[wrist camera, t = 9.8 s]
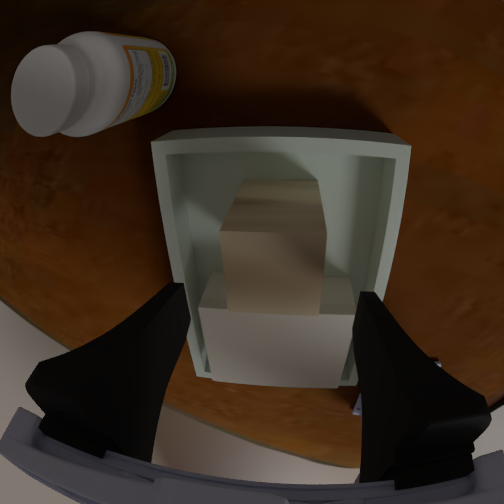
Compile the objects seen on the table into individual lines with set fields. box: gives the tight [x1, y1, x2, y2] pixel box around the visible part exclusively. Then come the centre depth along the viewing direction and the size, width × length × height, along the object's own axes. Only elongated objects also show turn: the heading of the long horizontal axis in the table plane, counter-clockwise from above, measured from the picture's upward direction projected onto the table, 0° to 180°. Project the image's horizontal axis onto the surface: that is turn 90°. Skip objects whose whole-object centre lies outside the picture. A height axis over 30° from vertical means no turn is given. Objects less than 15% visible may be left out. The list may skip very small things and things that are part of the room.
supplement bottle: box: [11, 31, 176, 137], centre depth 13 cm, size 5×5×10 cm
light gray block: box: [198, 272, 356, 388], centre depth 23 cm, size 8×10×4 cm
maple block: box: [219, 179, 327, 316], centre depth 17 cm, size 4×4×7 cm
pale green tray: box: [151, 126, 411, 386], centre depth 22 cm, size 20×14×4 cm
